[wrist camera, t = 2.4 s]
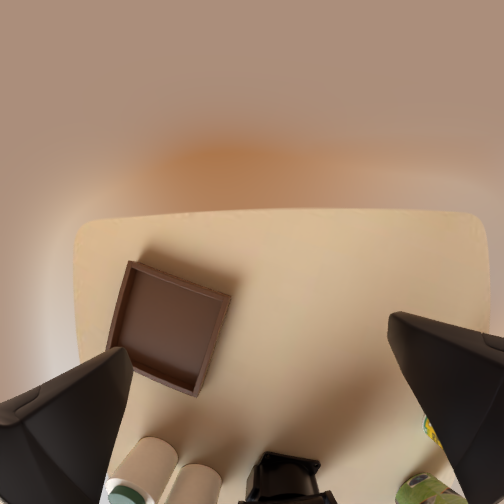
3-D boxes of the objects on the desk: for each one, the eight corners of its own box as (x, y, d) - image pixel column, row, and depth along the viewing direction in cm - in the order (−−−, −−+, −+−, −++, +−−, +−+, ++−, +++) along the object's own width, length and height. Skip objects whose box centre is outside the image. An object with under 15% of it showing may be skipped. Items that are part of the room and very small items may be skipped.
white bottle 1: (182, 447, 25) (154, 503, 15) (173, 475, 24) (147, 528, 14) (140, 429, 25) (99, 477, 15) (134, 458, 25) (98, 505, 15)
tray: (231, 296, 26) (229, 297, 24) (200, 390, 25) (196, 398, 23) (136, 261, 27) (128, 260, 25) (112, 352, 26) (103, 356, 24)
